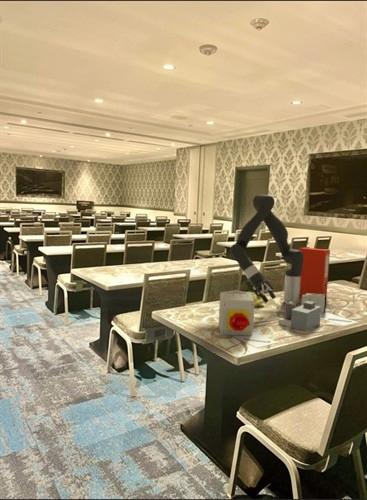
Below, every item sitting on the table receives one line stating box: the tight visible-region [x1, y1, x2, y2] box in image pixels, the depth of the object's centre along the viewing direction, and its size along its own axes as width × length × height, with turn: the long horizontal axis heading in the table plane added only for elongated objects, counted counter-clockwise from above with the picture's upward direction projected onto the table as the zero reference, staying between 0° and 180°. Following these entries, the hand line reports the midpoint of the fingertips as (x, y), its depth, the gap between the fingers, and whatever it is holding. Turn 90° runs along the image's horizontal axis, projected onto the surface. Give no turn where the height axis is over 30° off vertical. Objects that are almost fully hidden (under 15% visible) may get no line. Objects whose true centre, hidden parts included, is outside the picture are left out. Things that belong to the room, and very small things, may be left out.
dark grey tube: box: [284, 302, 297, 320], centre depth 187 cm, size 5×5×11 cm
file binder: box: [299, 247, 331, 297], centre depth 243 cm, size 8×17×32 cm, turn 48°
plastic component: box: [252, 293, 268, 308], centre depth 220 cm, size 20×7×10 cm
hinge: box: [301, 293, 328, 314], centre depth 208 cm, size 14×5×10 cm, turn 87°
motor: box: [278, 301, 322, 332], centre depth 187 cm, size 20×15×11 cm
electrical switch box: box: [218, 289, 255, 336], centre depth 168 cm, size 15×15×20 cm
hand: (270, 300), depth 196 cm, fingers open, 8 cm apart
